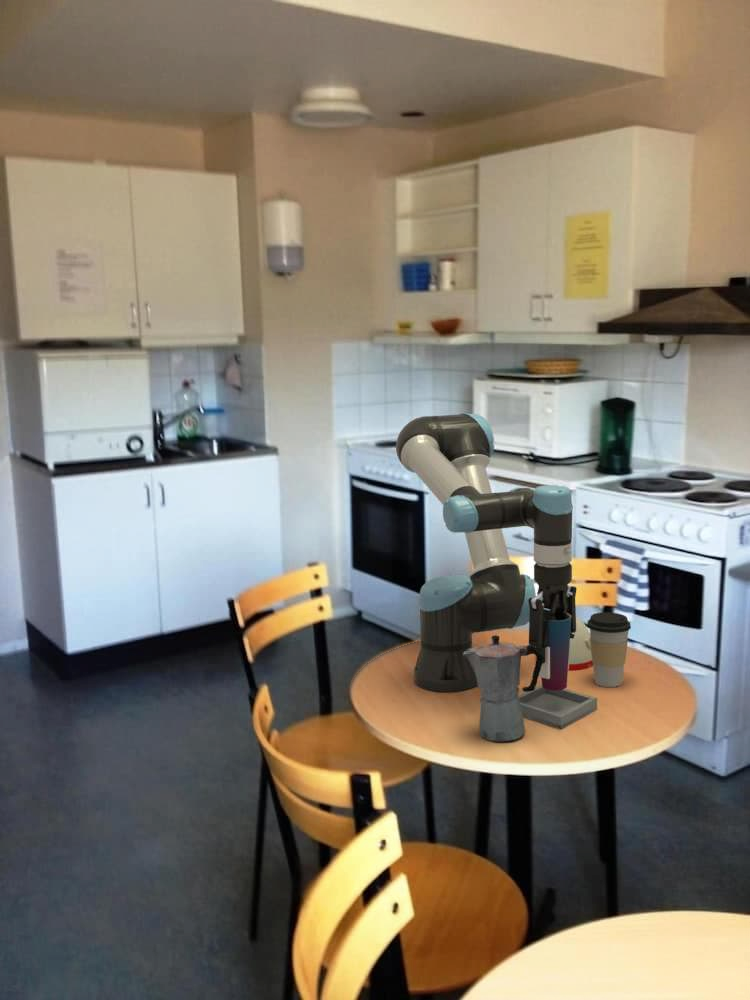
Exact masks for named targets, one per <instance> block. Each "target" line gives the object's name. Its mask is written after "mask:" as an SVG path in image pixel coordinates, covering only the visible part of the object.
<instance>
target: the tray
mask: <svg viewBox="0 0 750 1000" xmlns="http://www.w3.org/2000/svg"><path fill="white" fill-rule="evenodd" d="M518 697H519V702H520V706H521V712H522V716H523V718H526V719H528V720H531V721H534V722H538V723H541V724H543V725H546V726H549V727H553V728H555V729H559V730H563V729H565V728H566V727H568V726H570V725H572V724H573V723H575V722H577V721H579V720H581V719H583V718H584V717H586V716H588V715H590V714H592V713H593V712H595V711H597V710H598V698H597V697H593V696H591V695H587V694H584V693H580V692H577V691H574V690H571V689H567V688H565V689H563V690H557V691H554V690H547V689H545V688H543V687H542V684H540V685H538V686H535V690H534V691H527V692H522V693H521V694H518Z"/></svg>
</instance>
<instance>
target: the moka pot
mask: <svg viewBox="0 0 750 1000" xmlns="http://www.w3.org/2000/svg"><path fill="white" fill-rule="evenodd" d="M491 640H492V642H488V643H482V644H478V645H476V646H475V647H473V648H471V649H468V650H467V651H465V652H464V653H463V655H465V656H466V657H467V659H468V661H469V663H470V664H471V666H472V668H473V670H474V672H475V674H476V678H477V683H478V685H477V687H478V688H479V689H480V696H481V697H480V699H479V702H480V713H479V726H478V727H479V728H478V730H479V731H478V733H479V735H480V736H481V737H482V738H483V739H484V740H487V741H491V742H499V743H500V742H501V743H502V742H510V741H514V740H517V739H520V738H522V737H523V736H524V734H525V732H526V727H525V721H524V717H523V716H522V712H521V706H520V702H519V697H518V696H519V694H518V693H519V691H520V688H519V685H520V681H521V679H520V677H521V661H522V657H527V656H530V655H535V657H536V656H537V660H536V659H535V664H534V667H533V672H532V679H531V681H530V684H529V686H523V687H522V688H521V690H522V693H525V692H527V691H534V690H535V688H536V687H537V683H538V679H539V678H540V677H539V672H540V670H541V666H542V663H543V661H544V656H543V654H542V653H540V651H539V650H537V648H536V647H535V646H534V645H533V644H532V645H529V644H528V645H516V644H515V643H511V642H500V636H499V635H498V634H497V635H492V636H491Z"/></svg>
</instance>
